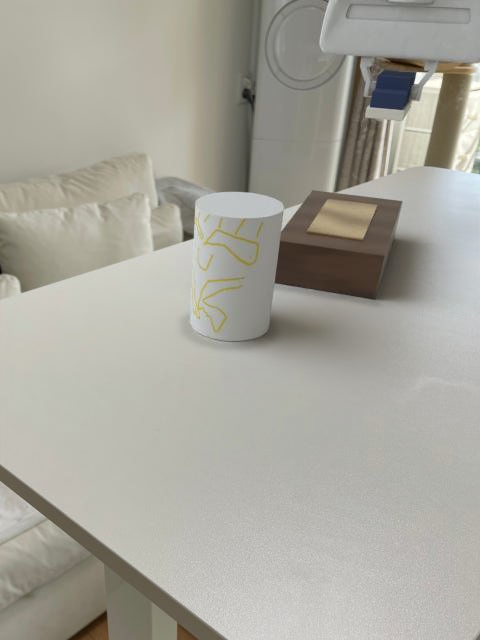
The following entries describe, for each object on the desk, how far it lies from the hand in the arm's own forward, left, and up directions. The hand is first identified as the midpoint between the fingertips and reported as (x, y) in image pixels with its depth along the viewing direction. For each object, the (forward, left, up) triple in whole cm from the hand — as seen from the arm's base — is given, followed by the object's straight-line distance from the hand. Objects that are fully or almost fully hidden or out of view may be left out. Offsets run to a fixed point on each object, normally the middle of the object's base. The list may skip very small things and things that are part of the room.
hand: (391, 98), depth 84 cm
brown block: (+7, +14, -16) cm, 23 cm away
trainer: (0, 0, -2) cm, 2 cm away
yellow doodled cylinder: (+22, +33, -17) cm, 43 cm away
